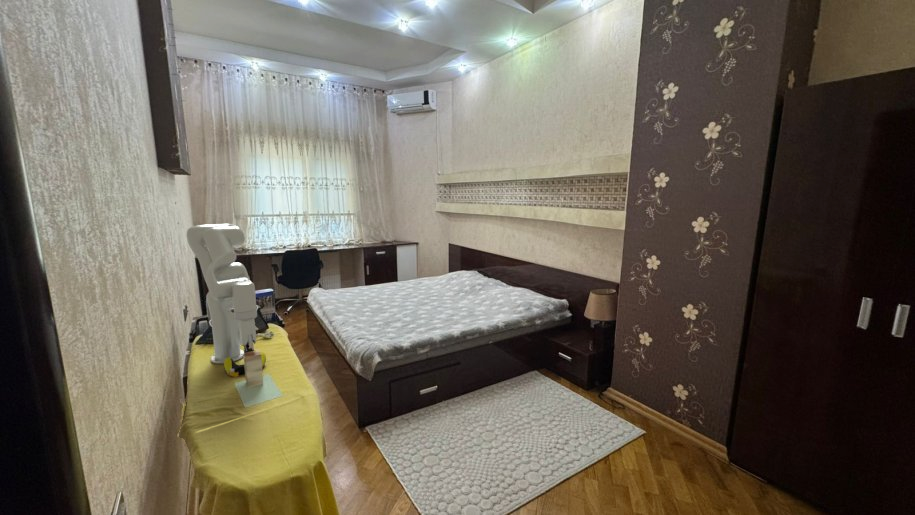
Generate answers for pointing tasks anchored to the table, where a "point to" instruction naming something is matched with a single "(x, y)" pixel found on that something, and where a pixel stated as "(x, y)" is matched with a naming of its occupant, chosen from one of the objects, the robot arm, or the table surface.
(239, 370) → the gaming controller
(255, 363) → the birch pillar
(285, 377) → the table surface
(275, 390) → the sage mat
